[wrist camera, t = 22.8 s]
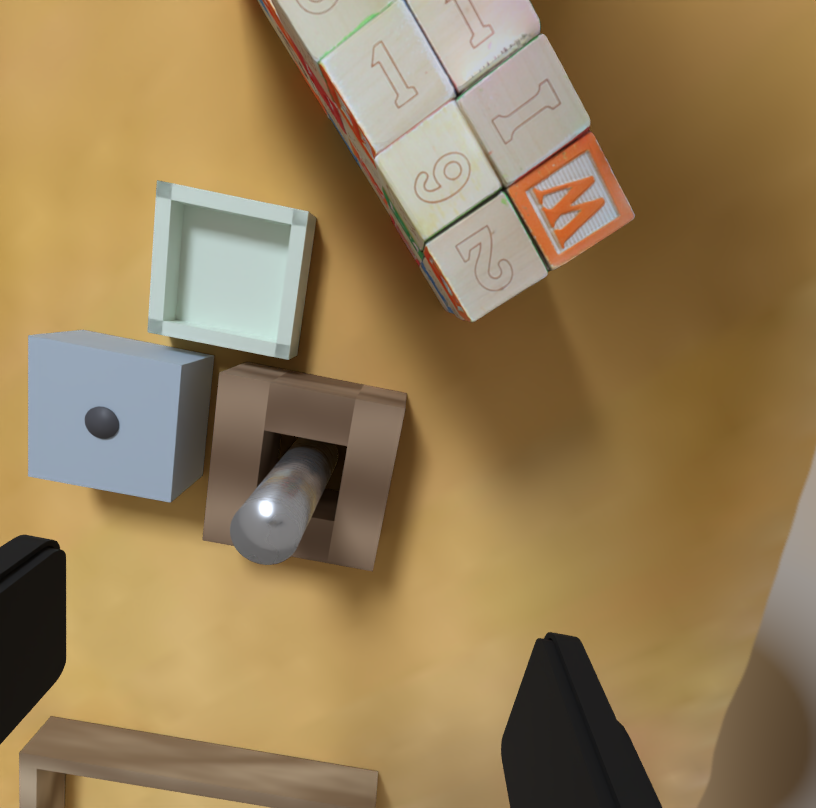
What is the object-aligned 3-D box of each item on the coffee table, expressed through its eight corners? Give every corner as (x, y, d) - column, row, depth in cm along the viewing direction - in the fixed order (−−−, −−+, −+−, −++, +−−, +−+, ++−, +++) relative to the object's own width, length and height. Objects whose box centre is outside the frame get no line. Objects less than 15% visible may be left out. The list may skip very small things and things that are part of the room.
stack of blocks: (225, -44, 23) (22, -412, 11) (325, -129, 22) (221, -625, 10) (446, 314, 27) (472, 327, 15) (538, 254, 26) (643, 218, 14)
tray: (176, 189, 26) (157, 180, 24) (316, 218, 26) (308, 211, 24) (166, 329, 27) (147, 332, 25) (297, 355, 28) (288, 359, 26)
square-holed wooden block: (246, 361, 28) (219, 372, 24) (406, 393, 28) (405, 408, 24) (229, 508, 30) (202, 540, 26) (378, 536, 30) (372, 571, 26)
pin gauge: (295, 427, 29) (233, 495, 19) (341, 436, 29) (304, 508, 19) (289, 471, 29) (226, 557, 20) (334, 480, 29) (294, 570, 20)
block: (83, 329, 27) (26, 335, 23) (214, 355, 28) (180, 365, 24) (79, 452, 29) (26, 476, 25) (202, 475, 30) (169, 503, 26)
